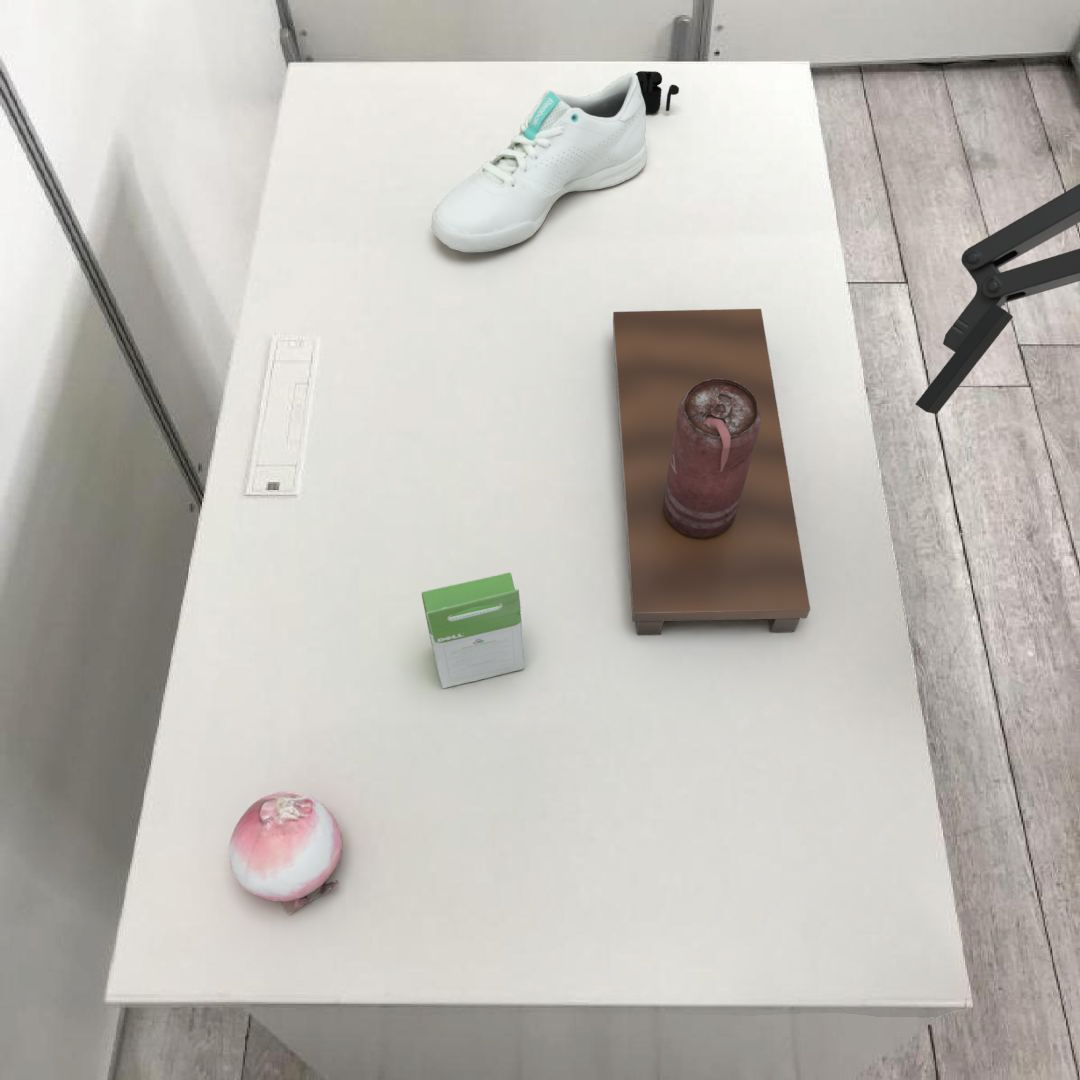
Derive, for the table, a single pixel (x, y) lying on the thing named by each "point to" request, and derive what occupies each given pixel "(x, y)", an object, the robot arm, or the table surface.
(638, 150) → the running shoe
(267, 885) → the onion
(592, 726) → the table surface
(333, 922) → the table surface
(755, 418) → the can
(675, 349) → the shelf
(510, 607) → the ink box
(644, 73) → the wireless earbuds
